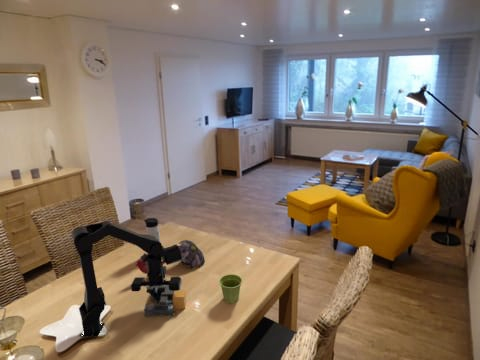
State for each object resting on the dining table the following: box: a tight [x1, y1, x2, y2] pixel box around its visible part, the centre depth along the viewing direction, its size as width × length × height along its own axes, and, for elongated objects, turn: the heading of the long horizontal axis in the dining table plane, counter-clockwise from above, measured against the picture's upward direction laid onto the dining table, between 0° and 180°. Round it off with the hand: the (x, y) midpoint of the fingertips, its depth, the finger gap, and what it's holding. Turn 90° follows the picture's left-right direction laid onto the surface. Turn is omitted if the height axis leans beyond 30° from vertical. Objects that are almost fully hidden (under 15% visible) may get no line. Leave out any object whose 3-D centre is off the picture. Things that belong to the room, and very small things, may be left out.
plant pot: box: [218, 273, 243, 304], centre depth 136 cm, size 9×9×9 cm
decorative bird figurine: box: [134, 259, 165, 275], centre depth 155 cm, size 3×18×10 cm, turn 123°
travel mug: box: [144, 217, 161, 243], centre depth 172 cm, size 6×7×20 cm
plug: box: [159, 289, 188, 310], centre depth 134 cm, size 4×10×6 cm, turn 90°
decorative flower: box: [178, 239, 205, 269], centre depth 164 cm, size 15×12×15 cm
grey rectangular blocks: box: [143, 286, 181, 317], centre depth 136 cm, size 16×11×3 cm
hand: (158, 302), depth 134 cm, fingers closed
